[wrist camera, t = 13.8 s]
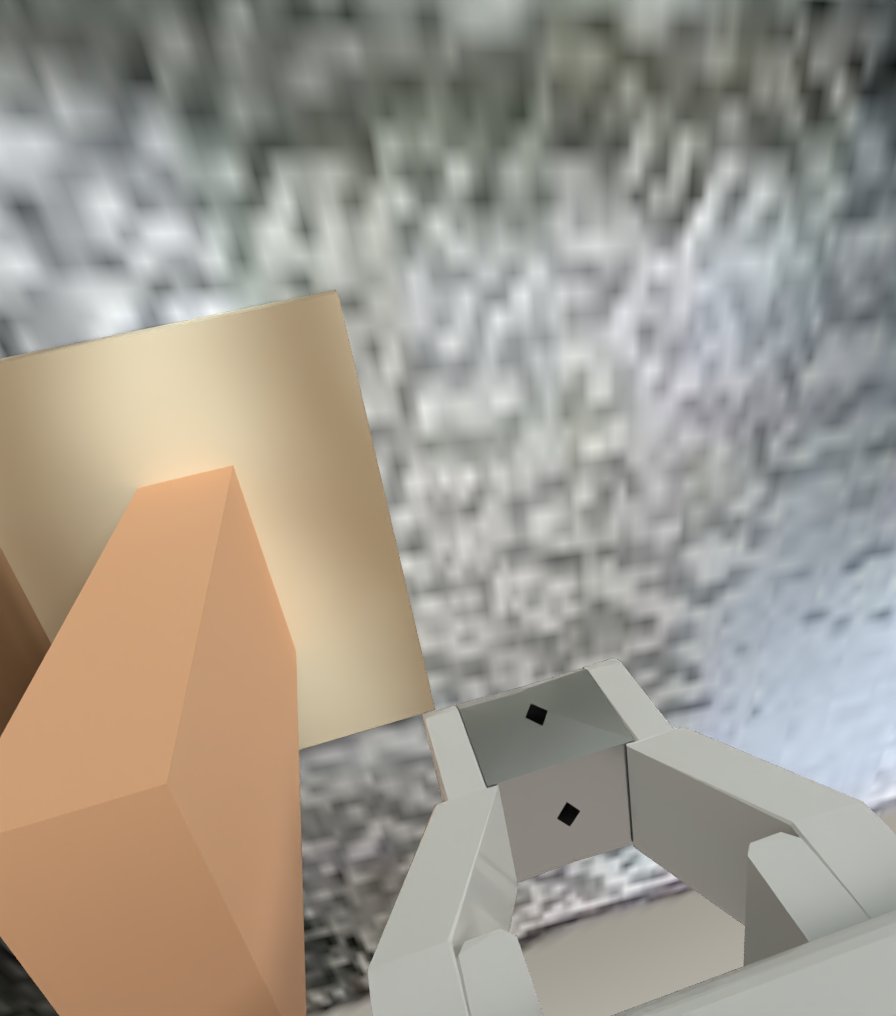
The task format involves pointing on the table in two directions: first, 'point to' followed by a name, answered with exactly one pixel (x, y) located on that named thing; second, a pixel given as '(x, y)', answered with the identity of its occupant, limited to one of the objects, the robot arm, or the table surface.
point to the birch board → (260, 471)
